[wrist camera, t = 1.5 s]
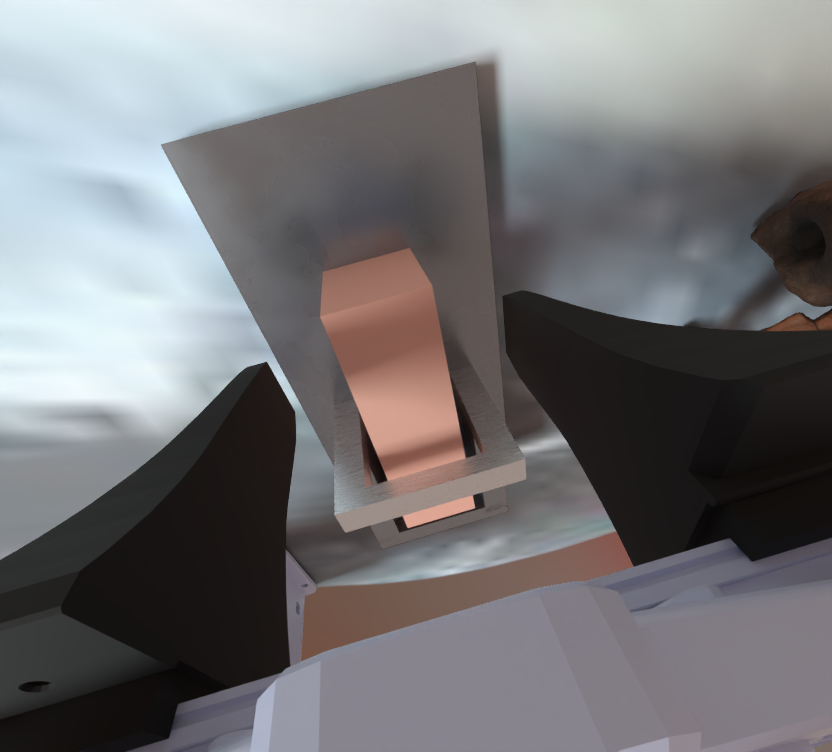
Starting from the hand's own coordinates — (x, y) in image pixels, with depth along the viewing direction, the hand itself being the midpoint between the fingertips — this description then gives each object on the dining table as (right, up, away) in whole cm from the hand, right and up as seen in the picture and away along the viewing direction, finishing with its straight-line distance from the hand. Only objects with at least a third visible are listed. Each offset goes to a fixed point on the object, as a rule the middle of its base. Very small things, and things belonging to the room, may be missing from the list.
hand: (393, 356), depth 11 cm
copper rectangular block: (0, -1, +7) cm, 7 cm away
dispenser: (-1, +1, +7) cm, 7 cm away
